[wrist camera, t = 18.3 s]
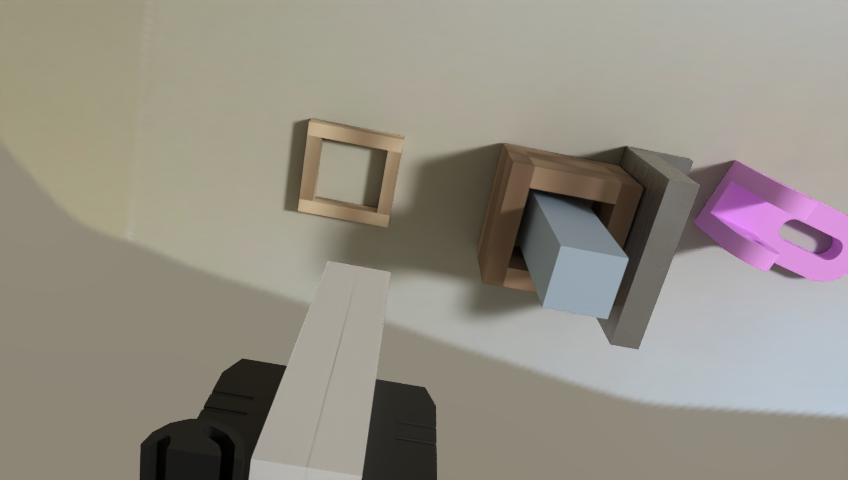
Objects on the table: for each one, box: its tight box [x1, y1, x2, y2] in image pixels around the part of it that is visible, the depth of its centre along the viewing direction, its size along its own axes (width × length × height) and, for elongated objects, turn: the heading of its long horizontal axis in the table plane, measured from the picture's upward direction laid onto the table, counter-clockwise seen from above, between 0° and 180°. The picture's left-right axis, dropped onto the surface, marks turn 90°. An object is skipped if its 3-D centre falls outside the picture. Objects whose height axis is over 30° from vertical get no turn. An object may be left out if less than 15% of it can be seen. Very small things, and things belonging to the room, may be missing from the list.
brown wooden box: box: [477, 143, 644, 293], centre depth 45 cm, size 9×9×6 cm
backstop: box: [596, 146, 700, 349], centre depth 44 cm, size 5×12×9 cm, turn 169°
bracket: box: [693, 160, 848, 282], centre depth 45 cm, size 13×6×7 cm, turn 65°
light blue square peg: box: [516, 188, 629, 319], centre depth 41 cm, size 4×4×12 cm
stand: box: [298, 118, 404, 228], centre depth 46 cm, size 7×7×1 cm
